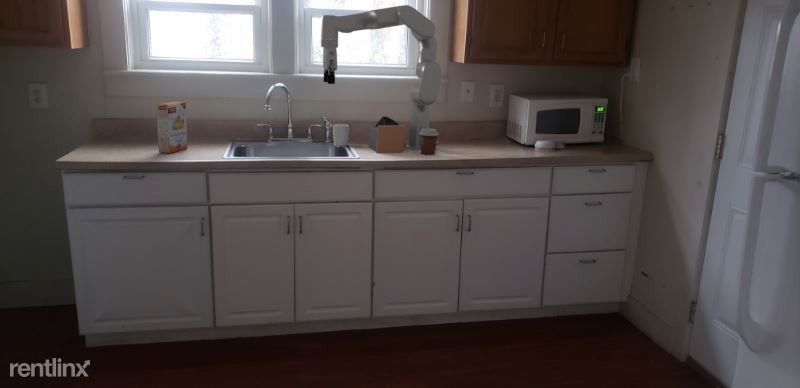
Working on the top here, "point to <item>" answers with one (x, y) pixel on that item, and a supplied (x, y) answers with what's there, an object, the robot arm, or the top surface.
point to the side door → (390, 139)
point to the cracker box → (172, 127)
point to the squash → (386, 122)
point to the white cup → (340, 134)
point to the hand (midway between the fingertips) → (329, 83)
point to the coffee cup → (428, 141)
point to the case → (373, 137)
